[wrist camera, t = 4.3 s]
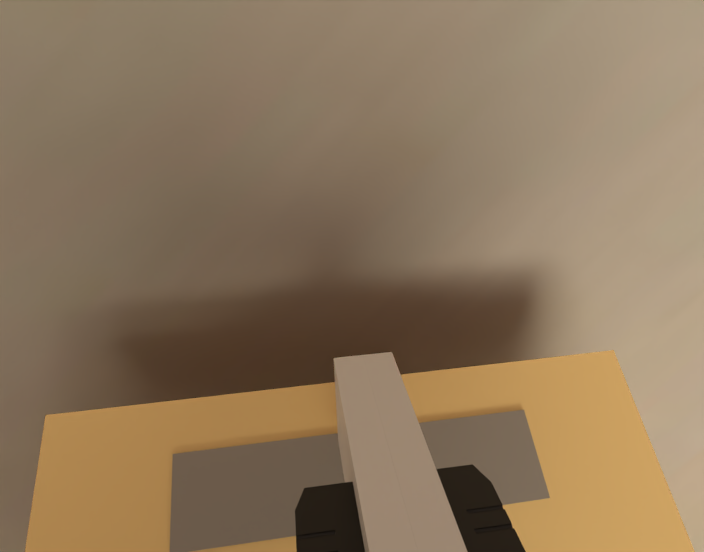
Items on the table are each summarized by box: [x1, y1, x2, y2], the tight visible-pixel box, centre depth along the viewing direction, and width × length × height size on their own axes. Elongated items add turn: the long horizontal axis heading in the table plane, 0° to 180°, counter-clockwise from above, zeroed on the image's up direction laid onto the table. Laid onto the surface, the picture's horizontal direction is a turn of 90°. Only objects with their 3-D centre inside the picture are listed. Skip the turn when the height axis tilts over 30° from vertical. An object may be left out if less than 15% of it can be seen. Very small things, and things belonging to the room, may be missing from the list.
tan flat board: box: [25, 350, 694, 552], centre depth 14 cm, size 17×6×1 cm
